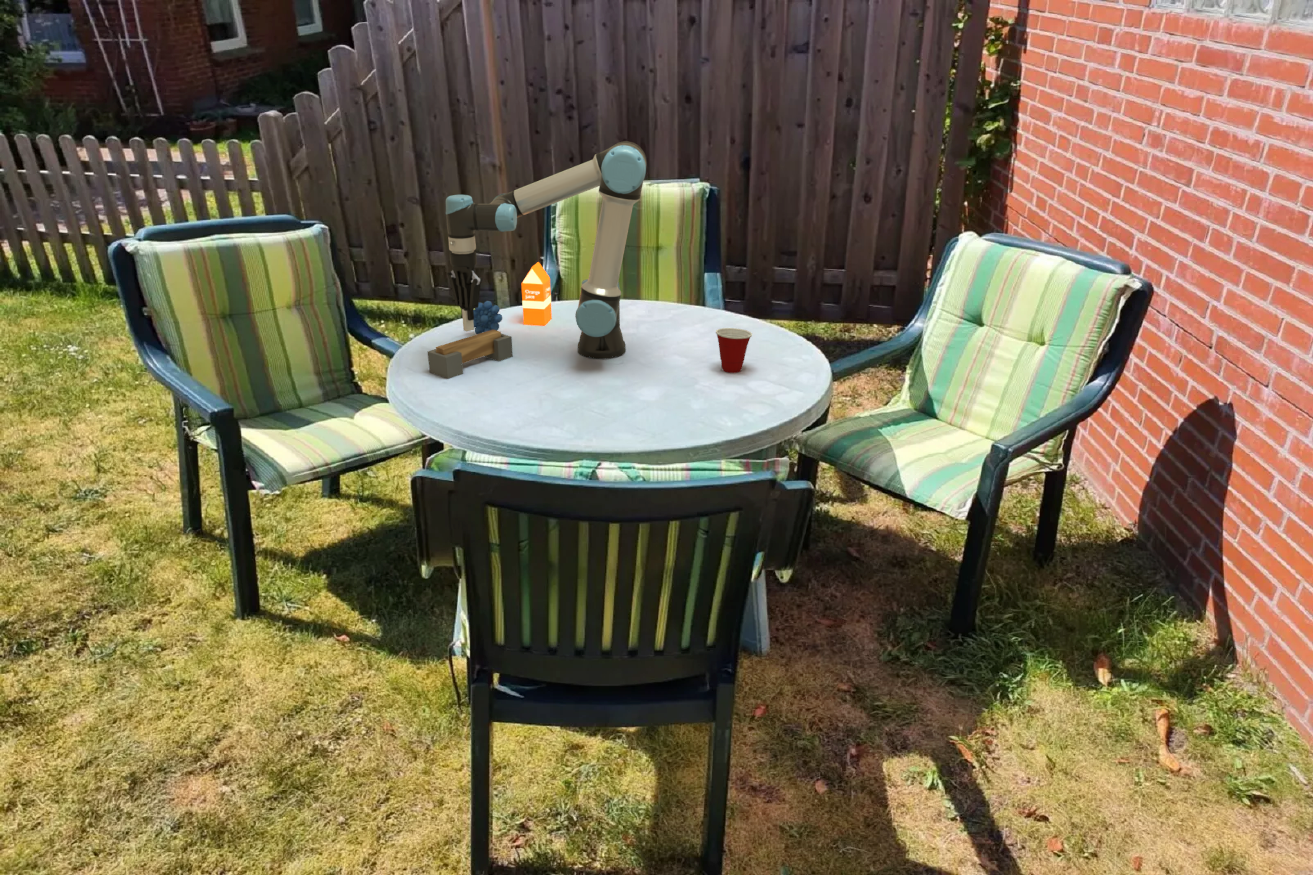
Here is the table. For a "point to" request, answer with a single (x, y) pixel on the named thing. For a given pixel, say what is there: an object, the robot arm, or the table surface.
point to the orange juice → (536, 297)
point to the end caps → (453, 361)
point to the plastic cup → (732, 348)
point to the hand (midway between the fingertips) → (468, 329)
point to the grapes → (486, 317)
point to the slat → (472, 346)
